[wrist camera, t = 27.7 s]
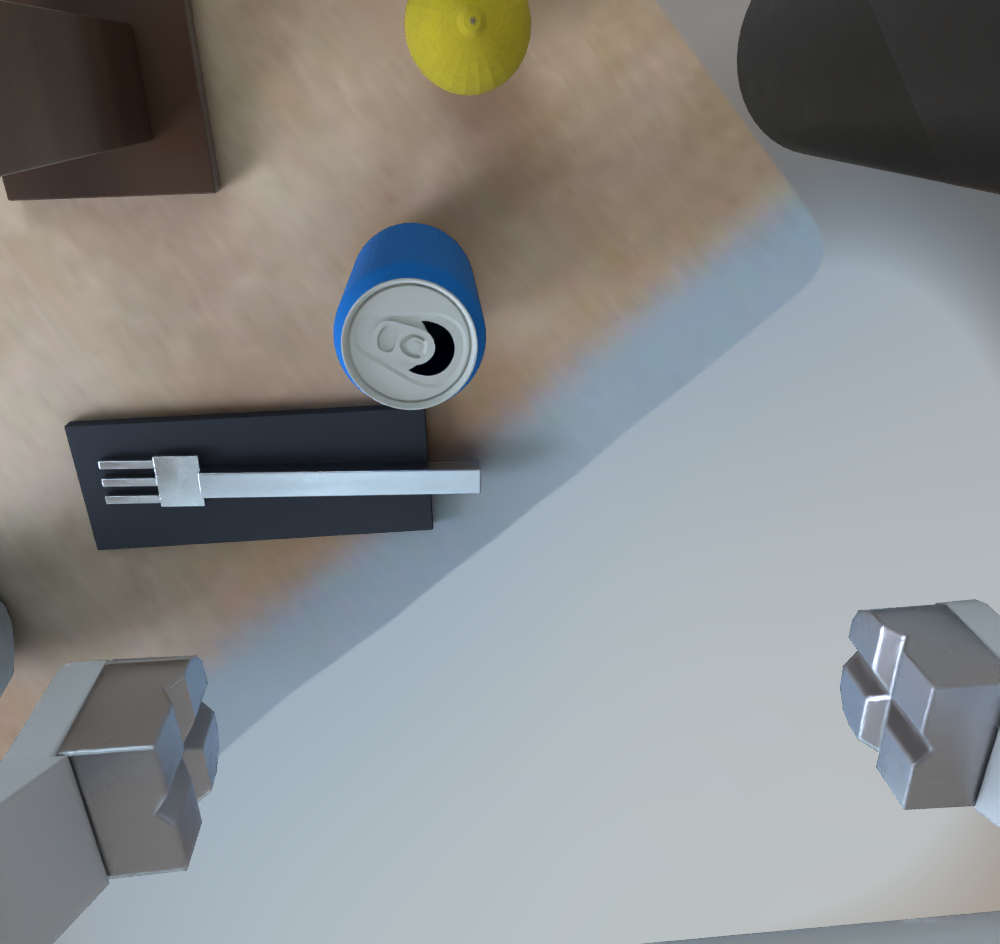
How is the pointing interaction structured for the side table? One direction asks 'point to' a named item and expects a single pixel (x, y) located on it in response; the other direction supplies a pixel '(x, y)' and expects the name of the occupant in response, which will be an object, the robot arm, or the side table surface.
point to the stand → (102, 100)
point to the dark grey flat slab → (245, 443)
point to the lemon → (468, 41)
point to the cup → (6, 648)
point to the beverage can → (410, 318)
